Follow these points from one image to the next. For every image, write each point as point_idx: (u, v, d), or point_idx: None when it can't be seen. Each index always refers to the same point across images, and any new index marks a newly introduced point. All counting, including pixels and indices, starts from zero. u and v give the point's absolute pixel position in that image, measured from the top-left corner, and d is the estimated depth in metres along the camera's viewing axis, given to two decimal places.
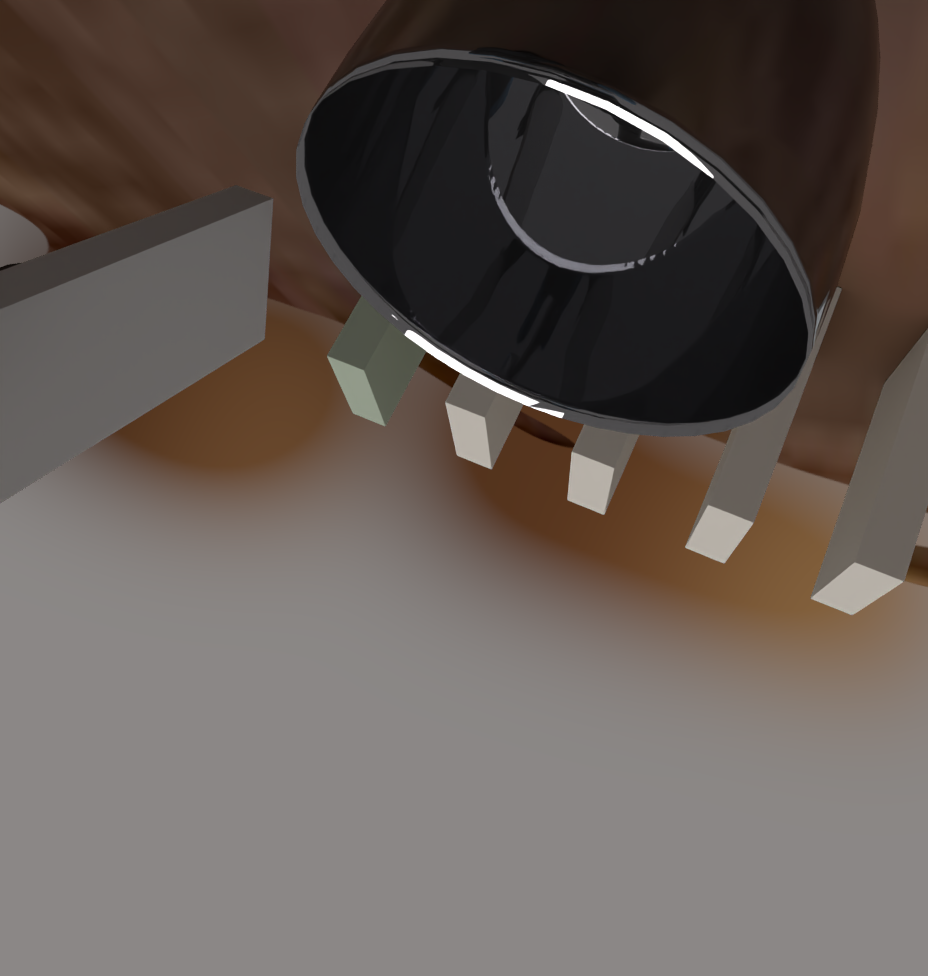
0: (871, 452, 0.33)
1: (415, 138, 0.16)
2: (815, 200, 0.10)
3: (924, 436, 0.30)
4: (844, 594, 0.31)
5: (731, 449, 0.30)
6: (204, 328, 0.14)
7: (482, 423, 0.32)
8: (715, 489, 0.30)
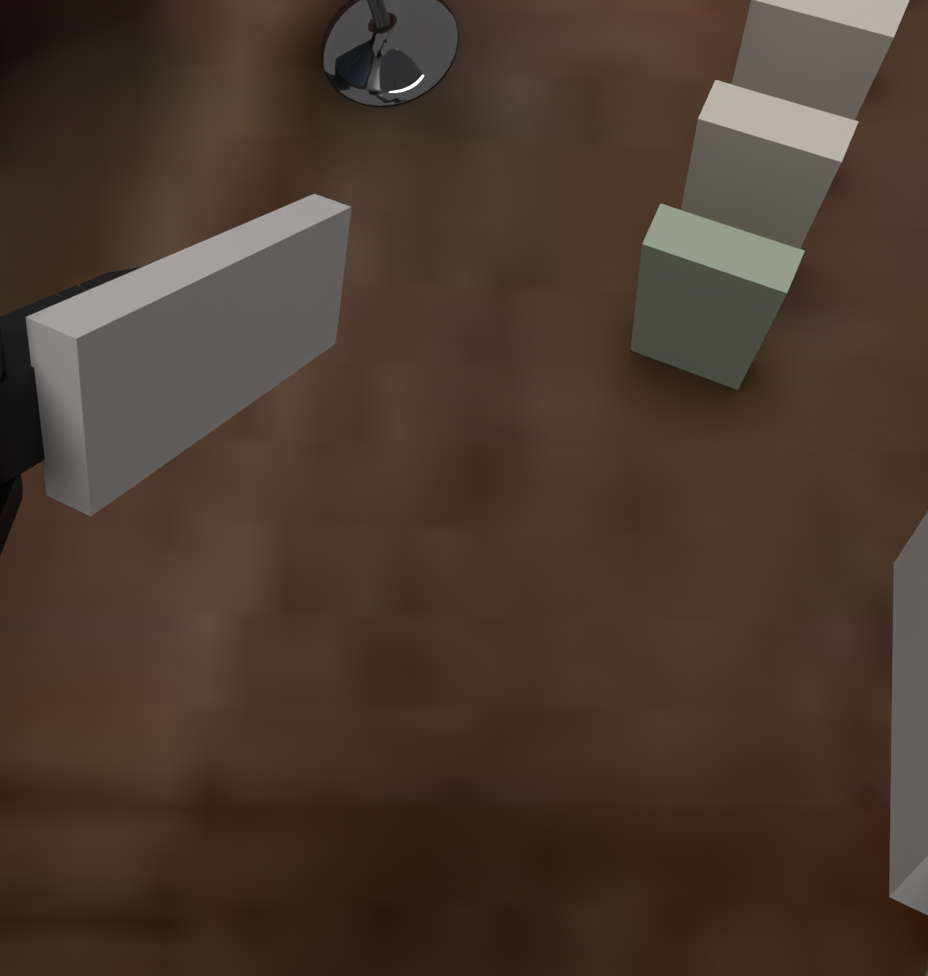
0: None
1: None
2: None
3: None
4: None
5: None
6: (286, 333, 0.15)
7: (731, 88, 0.30)
8: None
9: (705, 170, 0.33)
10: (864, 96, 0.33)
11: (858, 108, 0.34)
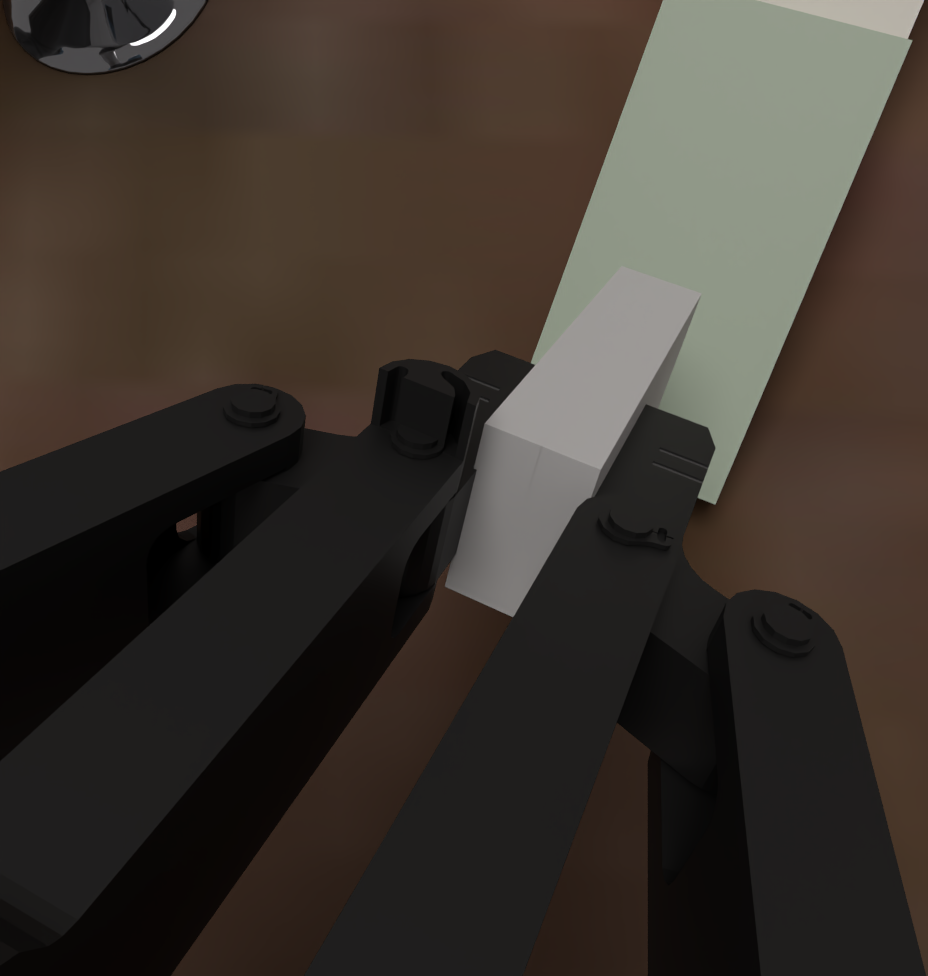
0: None
1: None
2: None
3: None
4: None
5: None
6: None
7: None
8: None
9: None
10: None
11: None
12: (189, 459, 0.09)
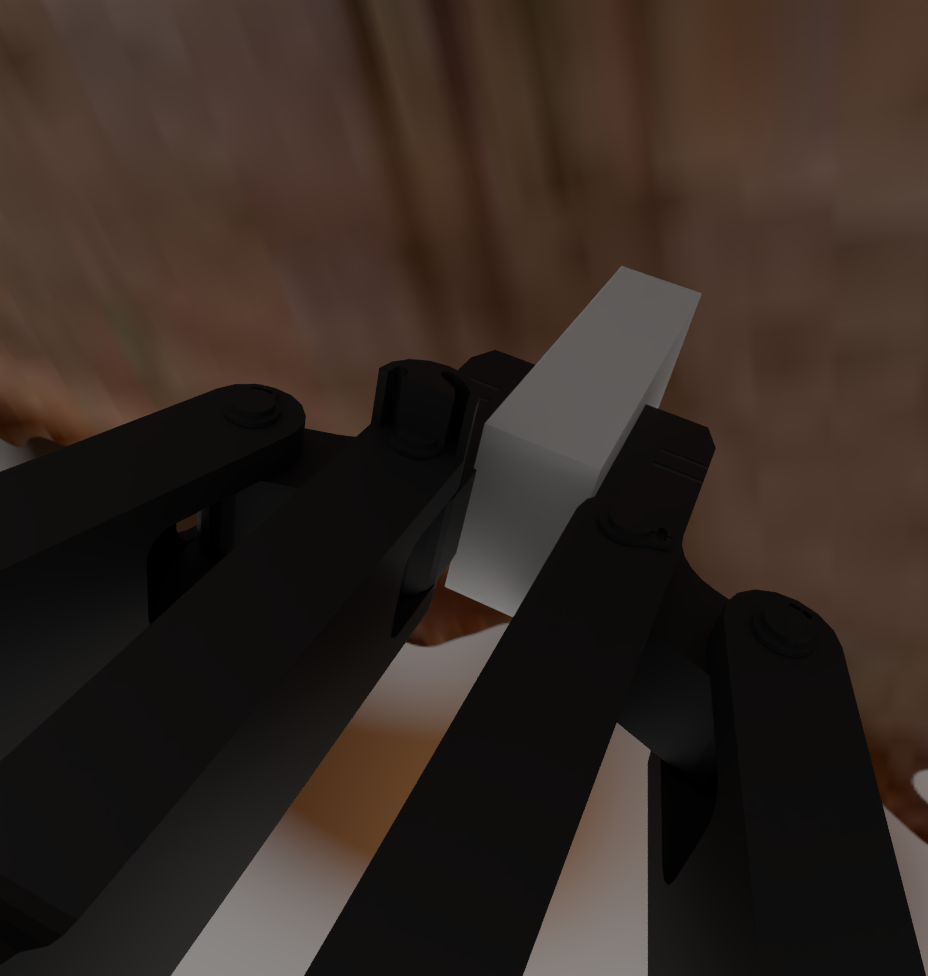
0: None
1: None
2: None
3: None
4: None
5: None
6: None
7: None
8: None
9: None
10: None
11: None
12: (189, 459, 0.09)
